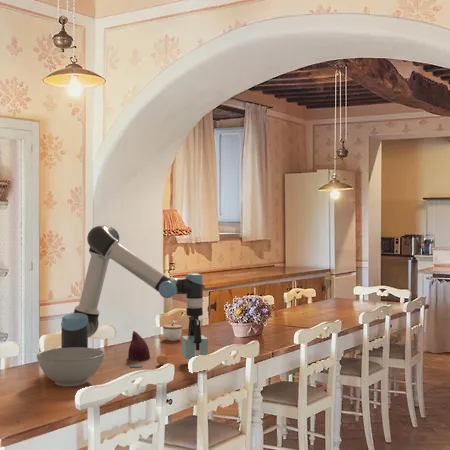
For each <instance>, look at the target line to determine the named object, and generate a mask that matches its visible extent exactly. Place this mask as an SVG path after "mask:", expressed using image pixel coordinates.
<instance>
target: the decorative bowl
mask: <svg viewBox="0 0 450 450" xmlns="http://www.w3.org/2000/svg"><path fill="white" fill-rule="evenodd" d="M104 358H105V351H103V350H102V349H98V348H93V347H88V348H85V347H67V348H61V347H57V348H50V349H45V350H42V351H40V352H38V353H37V354H36V360H37V362H38V365H39V367H40V369H41V370H42V373H44V375H45V376H47V377H48V378H49V379H50V380H52V381H53V382H54V384H55V385H56V386H59V387H78V386H79V387H80V386H83V385H84V384H85V385H86V383H87V380H89V379H91V378H92V377H93V376H94V375H95V374H96V373H97V371H98V370H99V368H100V367H101V364H102V362H103V360H104Z"/></svg>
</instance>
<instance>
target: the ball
mask: <svg viewBox="0 0 450 450" xmlns="http://www.w3.org/2000/svg"><path fill="white" fill-rule="evenodd" d="M156 363H157V364H158V365H159V366H165V365H166V364H167V363H168V357H167V356H166V355H165V354H163V353H162V354H159V355H157V356H156ZM164 364H165V365H164Z"/></svg>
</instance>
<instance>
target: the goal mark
mask: <svg viewBox="0 0 450 450" xmlns="http://www.w3.org/2000/svg"><path fill="white" fill-rule="evenodd" d="M128 366H129V368H131V369H138V368H139V369H140V368H143V365H141V364H131V365H128Z"/></svg>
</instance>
